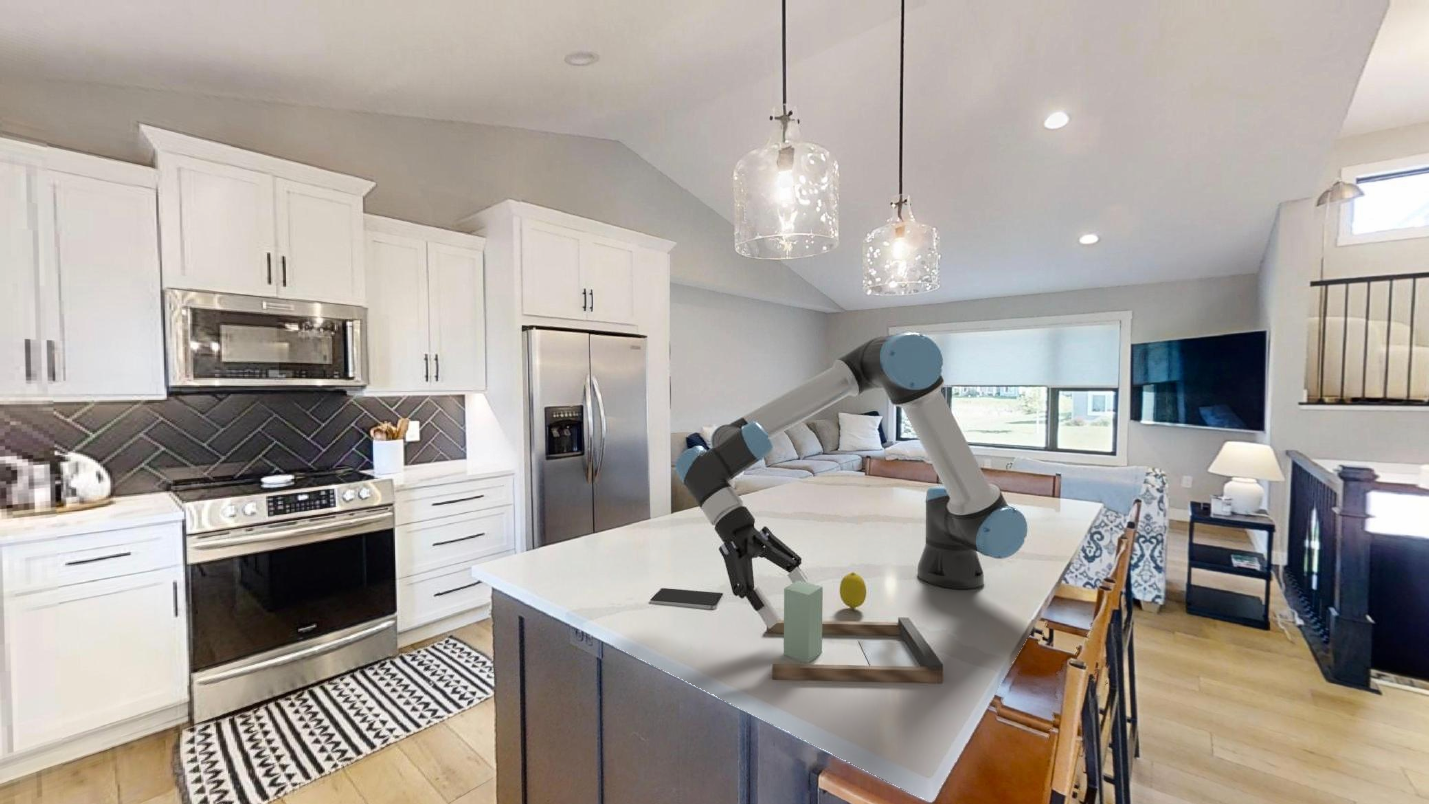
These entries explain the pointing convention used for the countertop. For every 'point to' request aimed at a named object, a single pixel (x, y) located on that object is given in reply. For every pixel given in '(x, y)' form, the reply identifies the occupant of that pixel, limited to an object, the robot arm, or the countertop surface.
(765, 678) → the countertop surface
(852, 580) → the lemon
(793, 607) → the block
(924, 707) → the countertop surface
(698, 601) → the smartphone
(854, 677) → the track
